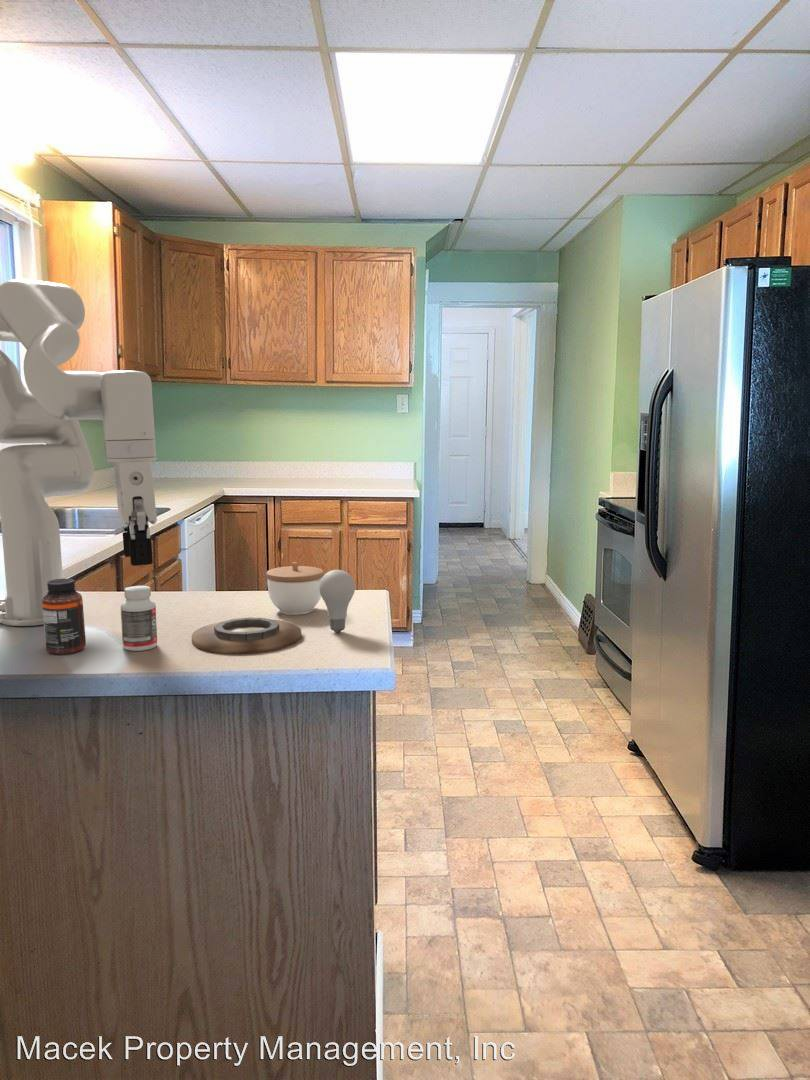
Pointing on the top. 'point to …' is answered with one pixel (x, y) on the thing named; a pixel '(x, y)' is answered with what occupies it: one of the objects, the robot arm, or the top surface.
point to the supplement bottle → (63, 618)
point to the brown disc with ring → (246, 636)
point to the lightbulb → (337, 596)
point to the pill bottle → (138, 619)
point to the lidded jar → (294, 588)
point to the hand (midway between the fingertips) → (138, 560)
